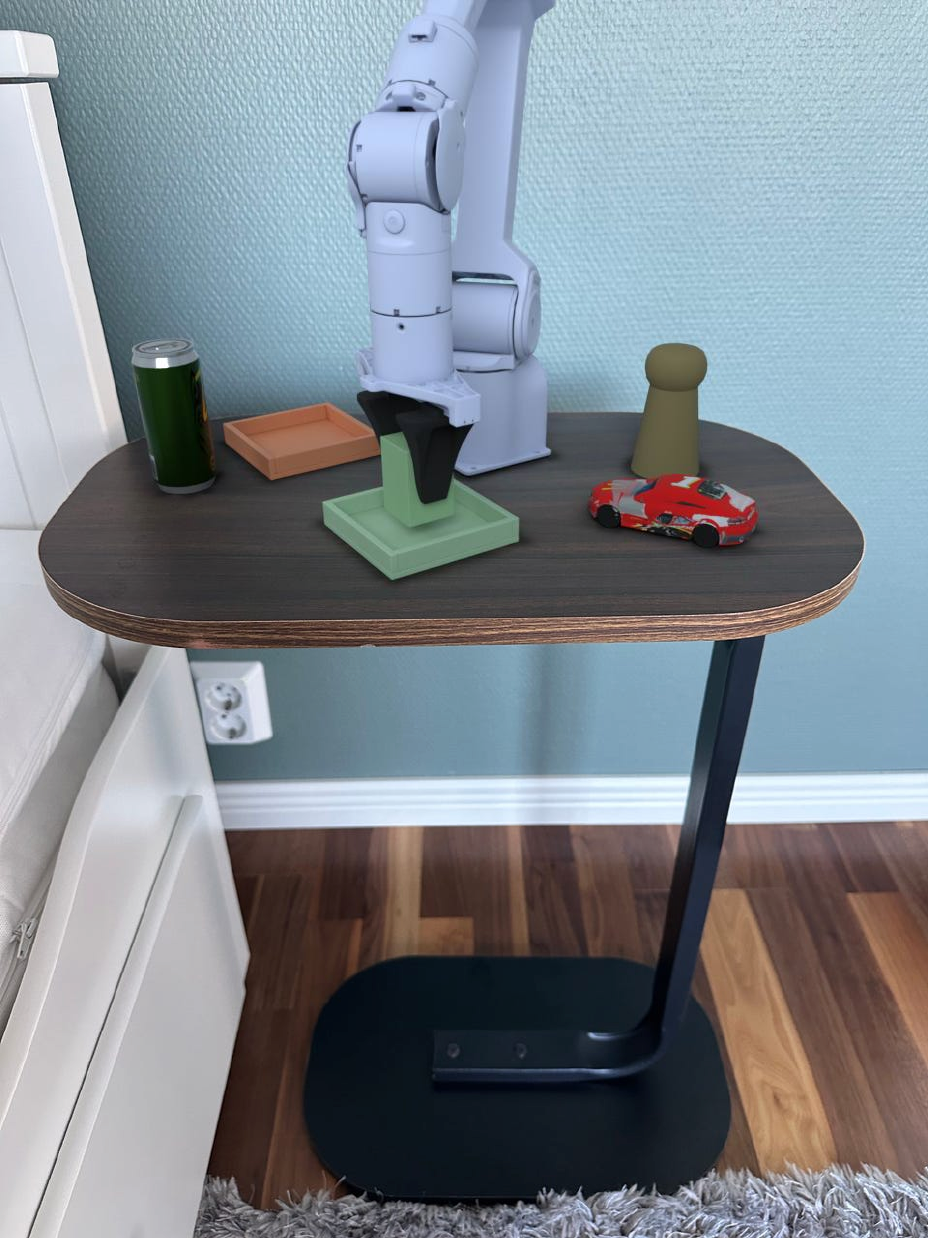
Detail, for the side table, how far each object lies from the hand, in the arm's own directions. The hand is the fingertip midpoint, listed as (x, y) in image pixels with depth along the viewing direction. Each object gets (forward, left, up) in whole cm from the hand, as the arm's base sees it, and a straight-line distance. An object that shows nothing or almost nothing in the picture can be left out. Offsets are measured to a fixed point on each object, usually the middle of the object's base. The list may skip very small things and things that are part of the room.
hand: (418, 489), depth 72 cm
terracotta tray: (0, -22, -4) cm, 22 cm away
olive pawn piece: (-25, +1, -4) cm, 25 cm away
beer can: (+12, -20, -4) cm, 24 cm away
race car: (-17, +10, -4) cm, 20 cm away
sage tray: (0, 0, -4) cm, 4 cm away
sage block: (0, 0, -2) cm, 2 cm away
